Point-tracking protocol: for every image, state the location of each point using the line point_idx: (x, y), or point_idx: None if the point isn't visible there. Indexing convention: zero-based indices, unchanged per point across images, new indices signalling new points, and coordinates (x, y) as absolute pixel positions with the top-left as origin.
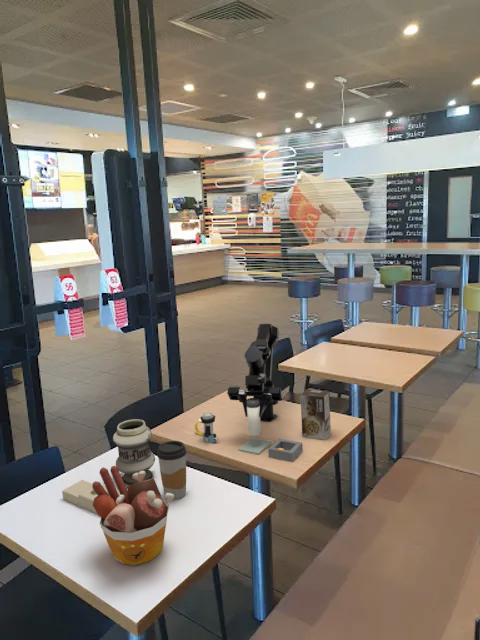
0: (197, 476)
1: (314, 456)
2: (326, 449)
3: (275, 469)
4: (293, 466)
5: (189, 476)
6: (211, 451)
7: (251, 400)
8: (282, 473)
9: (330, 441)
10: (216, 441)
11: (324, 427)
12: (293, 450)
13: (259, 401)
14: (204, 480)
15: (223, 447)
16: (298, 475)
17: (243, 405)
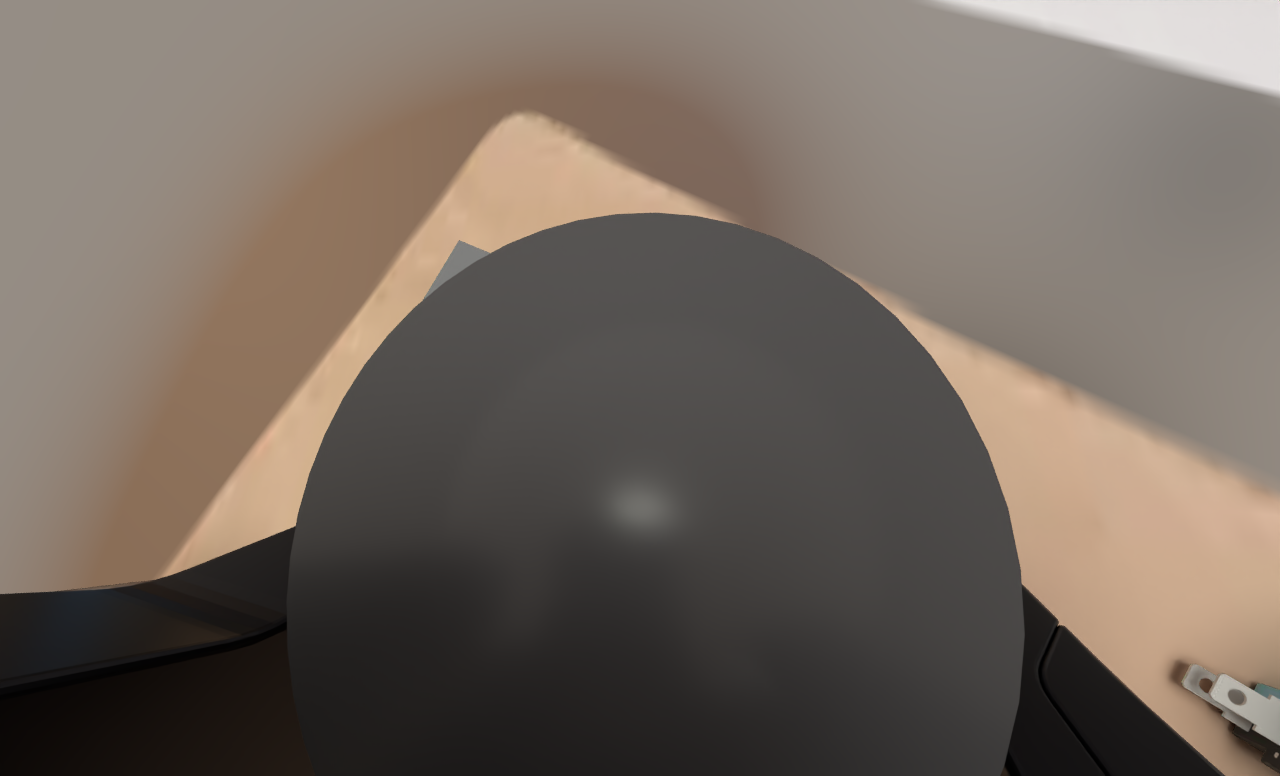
0: (1157, 42)
1: (364, 341)
2: (279, 431)
3: (599, 182)
4: (497, 222)
5: (1235, 32)
6: (1187, 456)
7: (675, 486)
8: (565, 145)
9: (219, 549)
10: (1214, 676)
11: (120, 585)
12: (443, 279)
13: (360, 502)
14: (1073, 8)
15: (1066, 540)
16: (490, 136)
17: (1071, 643)
